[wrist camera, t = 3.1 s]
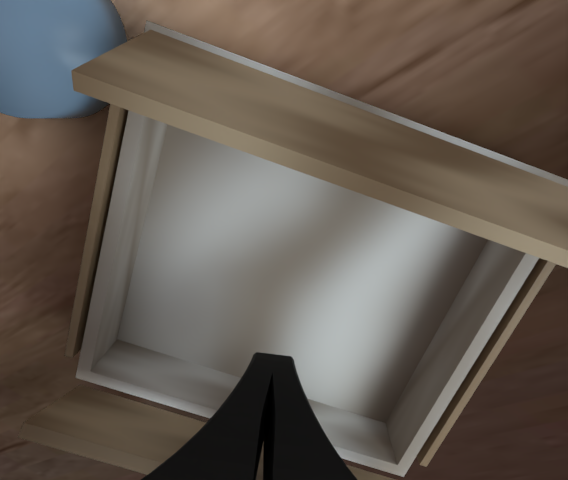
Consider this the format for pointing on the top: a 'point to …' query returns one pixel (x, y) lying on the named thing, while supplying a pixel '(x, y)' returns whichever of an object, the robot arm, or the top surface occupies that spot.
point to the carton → (288, 286)
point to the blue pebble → (52, 54)
